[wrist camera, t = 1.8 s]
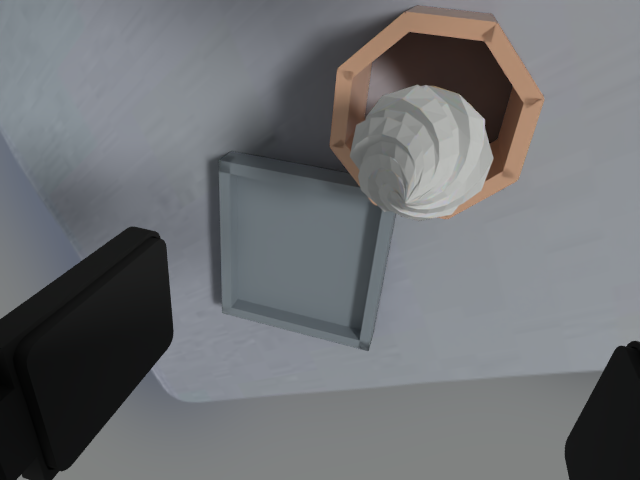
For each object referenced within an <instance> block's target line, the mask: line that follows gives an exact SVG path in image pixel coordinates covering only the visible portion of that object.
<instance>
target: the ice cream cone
mask: <svg viewBox="0 0 640 480" xmlns="http://www.w3.org/2000/svg"><path fill="white" fill-rule="evenodd" d="M350 158H351V159H352V161H353V162H354V163H355V165H356V166H357V167H358V169H359V175H358V179H359V183H360V188H361V191H362V192H363V193H365V194H366V195H367V196H368V197H369V198H370V199H371V200H372V201H373V202H374V203H375V204H377V205H378V206H379V207H380V208H381V209H382V210H383V211H384V212H385V211H393V212H394V213H396V214H398V215H400V216H401V217H405V218H409V219H413V220H417V221H422V220H427V219H432V218H437V217H442V216H447V215H452V214H453V213H454V211H455V210H456V209H457V207H458V206H459V205H461V204H463V203H464V202H466V201H467V200H469V199H470V198H472V197H473V196H474V195H476V194H477V193H479V192H480V191H481V190H482V188H483V185H484V182H485V180H486V177H487V174H488V172H489V169H490V166H491V164H492V161H493V155H492V151H491V148H490V144H489V141H488V137H487V133H486V130H485V119H484V118H483V117H482V116H481V115H480V114H479V113H478V112H477V111H476V110H475V109H474V108H473V107H472V105H470V104H469V103H468V102H467V101H466V100H465V99H464V98H463V97H462V96H461V95H460V94H457V93H455V92H452V91H449V90H446V89H443V88H439V87H436V86H428V85H424V86H419V85H415V86H412V87H408V88H405V89H402V90H399V91H396V92H393V93H390V94H386V95H383V96H382V97H381V98H380V100H379V101H378V102H377V103H376V105H375V106H374V107H373V109H372V110H371V111H370V113H369V114H368V115H367V116H366V120H365V121H363V122H361V123H359V124H357V125H356V128H355V133H354V138H353V143H352V148H351V153H350Z"/></svg>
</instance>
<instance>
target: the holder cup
mask: <svg viewBox="0 0 640 480" xmlns="http://www.w3.org/2000/svg"><path fill="white" fill-rule="evenodd" d="M408 32H415V33H423V34H431V35H439V36H447V37H455V38H463V39H471V40H479V41H485V43H486V44H487V46H488V48H489V49H490V51H491V52H492V54H493V55H494V57H495V59H496V60H497V62H498V63H499V65H500V66H501V68H502V70H503V71H504V73H505V74H506V76H507V78H508V79H509V81H510V82H511V84H512V85H513V87H512V91H511V94H510V98H509V101H508V105H507V108H506V111H505V115H504V118H503V122H502V125H501V129H500V132H499V136H498V139H497V140H495V141H493V142H492V143H490V148H491V151H492V155H493V161H492V164H491V166H490V169H489V172H488V174H487V177H486V180H485V182H484V185H483V188H482V190H481V191H480V192H479V193H477V194H476V195H474V196H473V197H472V198H470V199H469V200H467V201H466V202H464V203H463V204H461V205H459V206H458V207H457V209H456V210H455V211H454V213H453V214H452V215H447V216H442V217H437V218H442V219H449V218H451V217H453V216H454V215H456V214H458V213H460V212H462V211H463V210H465V209H467V208H469V207H471V206H473V205H474V204H476V203H478V202H480V201H482V200H483V199H485V198H487V197H489V196H491V195H493V194H494V193H496V192H498V191H500V190H502V189H503V188H505V187H507V186H509V185H511V184H513V183H514V182H516V181H517V180H518V179H519V176H520V173H521V170H522V167H523V164H524V161H525V158H526V155H527V151H528V148H529V145H530V142H531V139H532V136H533V133H534V130H535V127H536V124H537V121H538V118H539V115H540V112H541V108H542V105H543V102H544V97H543V95H542V93H541V92H540V90H539V88H538V87H537V85H536V83H535V82H534V80H533V79H532V77H531V75H530V74H529V72H528V71H527V69H526V67H525V66H524V64H523V62H522V61H521V59H520V58H519V56H518V54H517V53H516V51H515V50H514V48H513V46H512V45H511V43H510V41H509V40H508V38H507V37H506V35H505V33H504V32H503V30H502V29H501V27H500V25H499V24H498V22H497V21H496V19H495V17H494V16H493V15H492V14H489V13H480V12H472V11H463V10H454V9H445V8H437V7H428V6H419V5H417V6H415V7H413V8H411V9H409V10H407V11H405V12H404V13H403V14H401V15H400V16H399V17H398V18H397V19H395V20H394V21H393V22H392V23H391V24H390V25H388V26H387V27H386V28H385V29H384V30H382V31H381V32H380V33H379V34H378V35H377V36H375V37H374V38H373V39H372V40H371V41H369V42H368V43H367V44H366V45H365V46H363V47H362V48H361V49H360V50H359V51H358V52H356V53H355V54H354V55H353V56H352V57H350V58H349V59H348V60H347V61H346V62H344V63H343V64H342V65H341V66H340V67H339V68H338V69H337V77H336V87H335V96H334V106H333V116H332V126H331V136H330V146H331V147H330V148H331V150H332V151H333V152H334V154H335V155H336V156H337V157H338V159H339V160H340V161H341V163H342V164H343V165H344V167H345V168H346V169H347V170H348V172H349V173H350V174H351V176H352V177H353V178H354V180H355V181H356V182H357V184H358V185H359V186H360V183H359V179H358V175H359V169H358V167H357V166H356V165H355V163H354V162H353V161H352V159H351V158H350V153H351V148H352V143H353V138H354V133H355V128H356V125H357V124H359V123H361V122H363V121H365V120H366V118H365V111H366V104H367V97H368V89H369V82H370V75H371V67H372V62H373V61H374V60H375V59H376V58H378V57H379V56H380V55H381V54H383V53H384V52H385V51H386V50H387V49H389V48H390V47H391V46H392V45H394V44H395V43H396V42H397V41H399V40H400V39H401V38H402V37H403V36H405V35H406V34H407V33H408ZM367 197H368V196H367ZM368 198H369V197H368ZM369 199H370V198H369ZM370 200H371V199H370ZM371 202H372V203H373V204H375V203H374V202H373V201H372V200H371ZM375 205H377V204H375ZM377 206H378V205H377Z"/></svg>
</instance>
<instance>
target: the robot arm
mask: <svg viewBox="0 0 640 480" xmlns="http://www.w3.org/2000/svg"><path fill="white" fill-rule="evenodd" d="M172 339H173V320H172V308H171V297H170V285H169V273H168V261H167V249H166V243H165V241H164V240H162V239H160V236H159V234H158V233H157V232H156V231H151V230H147V229H143V228H138V227H129V228H127V229H126V230H124V231H123V232H121V233H120V234H119V235H117V236H116V237H114V238H113V239H112V240H110V241H109V242H107V243H106V244H105V245H103V246H102V247H101V248H99V249H98V250H96V251H95V252H94V253H92V254H91V255H89V256H88V257H87V258H85V259H84V260H82V261H81V262H80V263H78V264H77V265H75V266H74V267H73V268H71V269H70V270H68V271H67V272H66V273H64V274H63V275H62V276H60V277H59V278H57V279H56V280H54V281H53V282H52V283H50V284H49V285H47V286H46V287H45V288H43V289H42V290H41V291H39V292H38V293H37V294H35V295H34V296H32V297H31V298H29V299H28V300H27V301H25V302H24V303H23V304H21V305H20V306H18V307H17V308H15V309H14V310H13V311H11V312H10V313H8V314H7V315H6V316H4V317H3V318H1V319H0V480H17V478H18V477H19V476H20V475H21V474H22V477H23V478H26V479H29V480H52V479H53V478H54V477H55V476H56V474H57V473H58V472H59V471H64V470H66V469H68V468H69V467H70V466H71V465H72V464H73V463H74V462H75V461H76V459H77V458H78V457H79V456H80V454H81V453H82V452H83V451H84V450H85V448H86V447H87V446H88V445H89V443H90V442H91V441H92V439H94V437H95V436H96V435H97V434H98V433H99V431H100V430H101V429H102V427H103V426H104V425H105V424H106V423H107V422H108V420H109V419H110V418H111V417H112V416H113V414H114V413H115V412H116V411H117V410H118V408H119V407H120V406H121V405H122V403H123V402H124V401H125V400H126V399H127V397H128V396H129V395H130V394H131V393H132V391H133V390H134V389H135V388H136V386H137V385H138V384H139V383H140V382H141V380H142V379H143V378H144V377H145V375H146V374H147V373H148V372H149V371H150V369H151V368H152V367H153V366H154V365H155V363H156V362H157V361H158V360H159V358H160V357H161V356H162V355H163V354H164V352H165V351H166V350H167V349H168V347H169V346H170V344H171V342H172ZM565 460H566V465H567V470H568V475H569V479H570V480H640V342H638V341H632V342H630V343H629V344H628V345H627V346H626V347H625V346H619V347H617V348H616V349H615V351H614V353H613V354H612V356H611V358H610V360H609V362H608V364H607V366H606V368H605V369H604V371H603V373H602V375H601V377H600V379H599V381H598V382H597V384H596V386H595V388H594V390H593V392H592V394H591V395H590V397H589V399H588V401H587V403H586V405H585V407H584V408H583V410H582V412H581V414H580V416H579V418H578V420H577V422H576V423H575V425H574V427H573V429H572V431H571V433H570V435H569V436H568V439H567V441H566V445H565Z"/></svg>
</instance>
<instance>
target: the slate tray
mask: <svg viewBox="0 0 640 480" xmlns="http://www.w3.org/2000/svg"><path fill="white" fill-rule="evenodd" d="M219 201H220V242H221V283H222V313H224V314H228V315H231V316H235V317H239V318H243V319H247V320H251V321H254V322H258V323H262V324H266V325H270V326H274V327H278V328H281V329H285V330H289V331H293V332H297V333H301V334H304V335H308V336H312V337H316V338H320V339H324V340H328V341H331V342H335V343H339V344H343V345H347V346H351V347H354V348H358V349H362V350H366V351H369V347H370V344H371V340H372V336H373V332H374V327H375V322H376V316H377V311H378V306H379V301H380V295H381V290H382V285H383V280H384V274H385V269H386V264H387V258H388V253H389V248H390V243H391V237H392V232H393V227H394V222H395V216H396V213H394V212H393V211H385V212H384V211H383V210H382V209H381V208H380V207H379V206H377V205H375V204H373V203H372V202H371V200H370V199H369V198H368V197H367V195H366V194H365V193H363V192H362V191H361V188H360V186H359V185H358V184H357V182H356V181H355V180H354V178H353V177H352V176H351V174H350V173H346V172H340V171H335V170H330V169H324V168H319V167H314V166H308V165H303V164H298V163H292V162H287V161H282V160H276V159H271V158H266V157H260V156H255V155H250V154H244V153H239V152H234V151H231V152H229V153H228V154H227V155H225V156H224V157H223V158H221V159H220V160H219Z"/></svg>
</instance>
